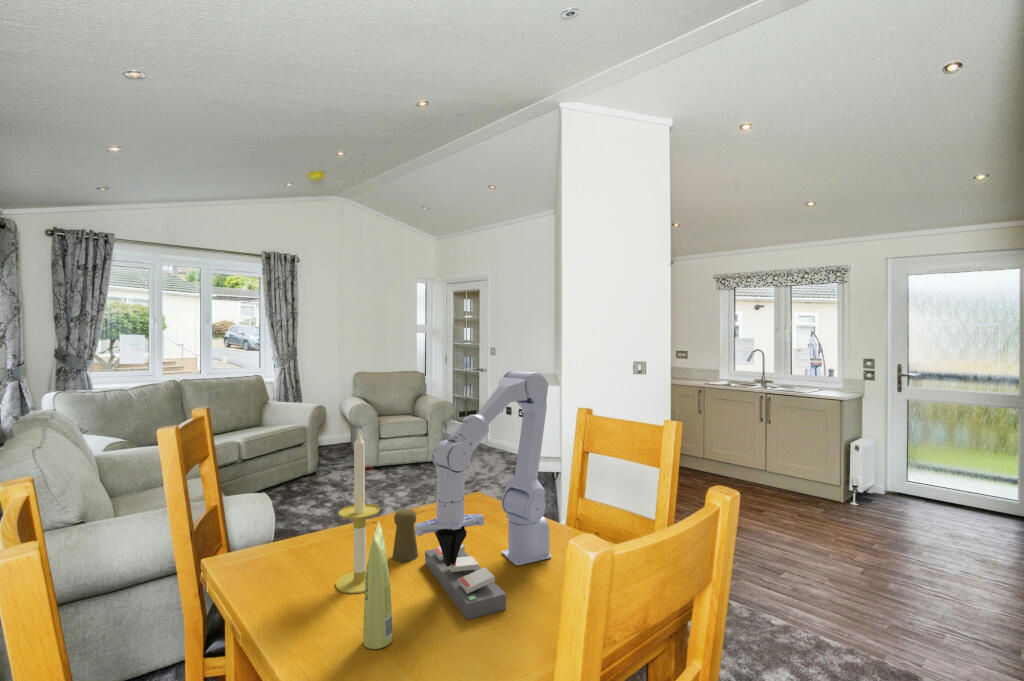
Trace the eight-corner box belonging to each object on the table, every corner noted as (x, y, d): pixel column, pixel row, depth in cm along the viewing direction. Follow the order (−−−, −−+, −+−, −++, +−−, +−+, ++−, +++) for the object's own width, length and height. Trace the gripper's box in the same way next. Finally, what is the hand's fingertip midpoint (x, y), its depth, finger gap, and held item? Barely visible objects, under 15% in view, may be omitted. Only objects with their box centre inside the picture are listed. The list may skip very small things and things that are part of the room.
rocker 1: (458, 543, 117) (457, 538, 117) (465, 550, 113) (464, 545, 113) (433, 553, 115) (432, 548, 115) (439, 560, 111) (439, 555, 111)
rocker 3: (486, 571, 103) (485, 566, 103) (495, 580, 99) (494, 575, 99) (458, 583, 100) (457, 578, 100) (467, 593, 96) (466, 588, 96)
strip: (457, 556, 120) (457, 541, 120) (505, 609, 97) (505, 590, 97) (425, 563, 117) (425, 547, 117) (467, 620, 93) (467, 600, 93)
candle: (393, 577, 110) (393, 428, 110) (360, 598, 101) (359, 436, 101) (359, 567, 115) (359, 424, 115) (324, 586, 106) (323, 432, 106)
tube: (355, 641, 87) (354, 528, 87) (380, 628, 91) (379, 520, 91) (374, 654, 83) (373, 536, 83) (399, 640, 87) (399, 527, 87)
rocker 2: (470, 560, 110) (471, 555, 110) (478, 568, 106) (479, 563, 106) (444, 563, 107) (445, 557, 107) (451, 572, 104) (452, 566, 104)
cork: (412, 563, 117) (412, 515, 117) (388, 560, 118) (387, 513, 118) (422, 552, 123) (421, 507, 123) (398, 550, 124) (398, 505, 124)
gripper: (422, 509, 99) (421, 578, 99) (490, 499, 105) (489, 564, 105) (412, 499, 105) (411, 564, 105) (476, 490, 112) (476, 552, 112)
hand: (449, 563), depth 106 cm, fingers closed, pressing on rocker 2
